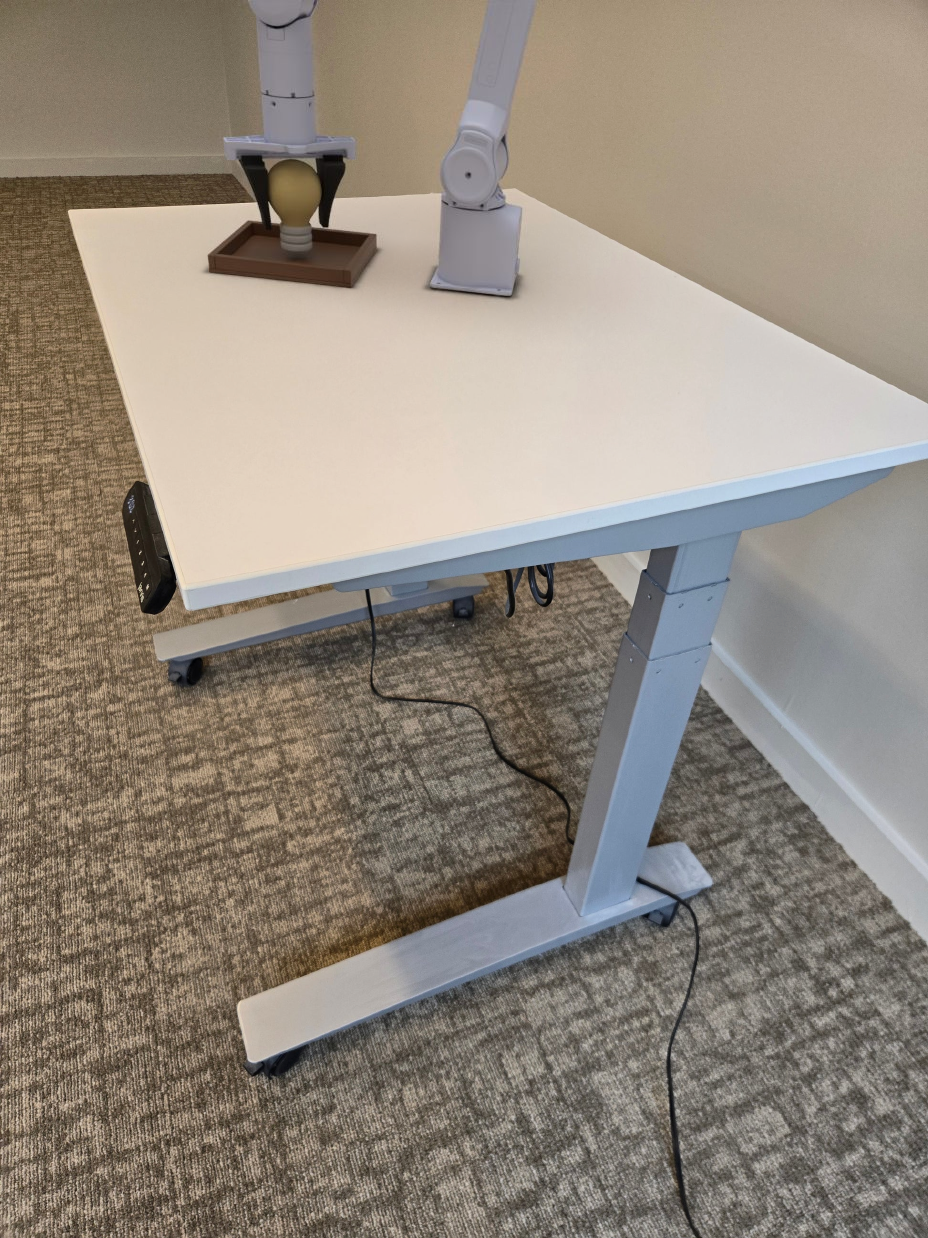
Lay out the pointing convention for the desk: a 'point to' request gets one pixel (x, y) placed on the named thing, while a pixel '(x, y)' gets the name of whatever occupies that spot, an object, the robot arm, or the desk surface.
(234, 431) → the desk surface
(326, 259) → the tray
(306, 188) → the light bulb
